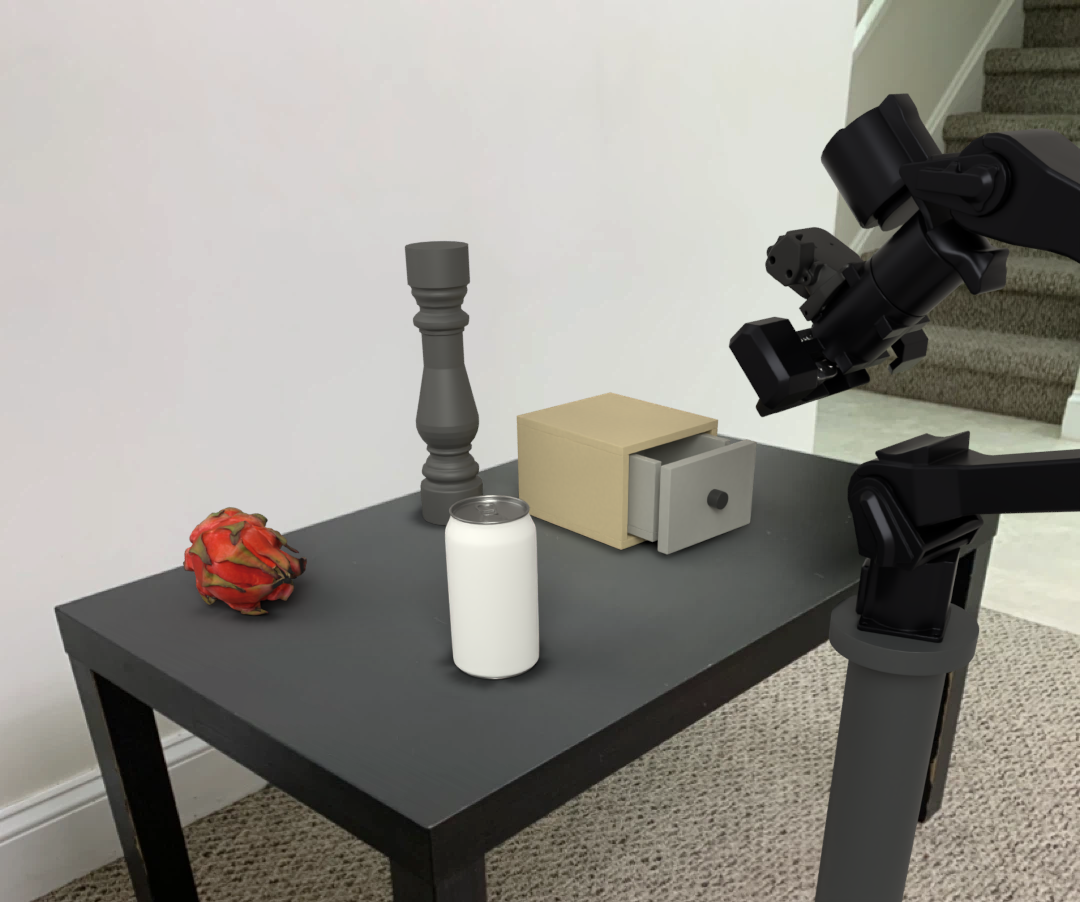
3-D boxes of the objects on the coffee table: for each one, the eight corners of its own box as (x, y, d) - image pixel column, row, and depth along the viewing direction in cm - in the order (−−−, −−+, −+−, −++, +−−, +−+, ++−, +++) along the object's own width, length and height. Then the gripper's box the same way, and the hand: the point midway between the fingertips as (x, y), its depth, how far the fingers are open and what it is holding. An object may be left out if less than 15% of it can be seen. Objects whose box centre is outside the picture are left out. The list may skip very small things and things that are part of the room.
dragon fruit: (216, 594, 97) (299, 651, 91) (139, 567, 90) (223, 627, 84) (258, 509, 97) (345, 561, 90) (184, 475, 89) (272, 529, 83)
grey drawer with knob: (760, 526, 103) (767, 444, 99) (677, 558, 96) (681, 472, 92) (647, 489, 112) (650, 413, 108) (565, 516, 106) (564, 436, 102)
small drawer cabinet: (712, 516, 108) (718, 419, 103) (621, 550, 101) (623, 447, 96) (609, 482, 117) (610, 392, 112) (519, 510, 110) (516, 415, 105)
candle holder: (496, 510, 110) (485, 242, 98) (460, 529, 106) (444, 251, 93) (446, 500, 113) (429, 239, 100) (410, 518, 109) (387, 247, 96)
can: (463, 687, 79) (453, 529, 72) (445, 648, 84) (435, 498, 78) (549, 674, 80) (546, 518, 74) (527, 637, 85) (522, 488, 79)
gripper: (917, 180, 84) (787, 313, 96) (760, 200, 73) (638, 346, 86) (993, 301, 82) (851, 419, 95) (844, 339, 72) (708, 466, 85)
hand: (765, 410), depth 90 cm, fingers closed
